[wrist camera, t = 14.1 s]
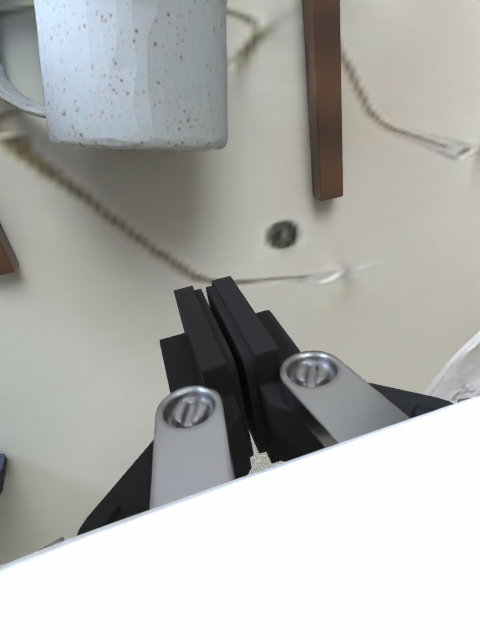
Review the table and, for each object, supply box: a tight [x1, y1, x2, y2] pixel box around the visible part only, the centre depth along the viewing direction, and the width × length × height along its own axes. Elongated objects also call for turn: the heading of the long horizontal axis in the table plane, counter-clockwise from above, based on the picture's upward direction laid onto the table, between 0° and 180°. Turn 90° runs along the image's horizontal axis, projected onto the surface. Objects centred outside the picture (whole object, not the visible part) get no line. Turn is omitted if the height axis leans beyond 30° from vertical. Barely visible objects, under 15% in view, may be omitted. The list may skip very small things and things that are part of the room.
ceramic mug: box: [0, 0, 228, 151], centre depth 16 cm, size 11×8×8 cm
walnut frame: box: [0, 0, 343, 275], centre depth 19 cm, size 18×21×1 cm
